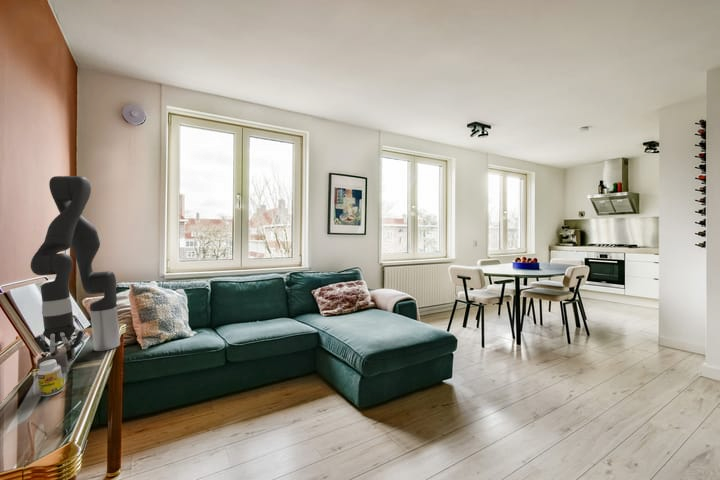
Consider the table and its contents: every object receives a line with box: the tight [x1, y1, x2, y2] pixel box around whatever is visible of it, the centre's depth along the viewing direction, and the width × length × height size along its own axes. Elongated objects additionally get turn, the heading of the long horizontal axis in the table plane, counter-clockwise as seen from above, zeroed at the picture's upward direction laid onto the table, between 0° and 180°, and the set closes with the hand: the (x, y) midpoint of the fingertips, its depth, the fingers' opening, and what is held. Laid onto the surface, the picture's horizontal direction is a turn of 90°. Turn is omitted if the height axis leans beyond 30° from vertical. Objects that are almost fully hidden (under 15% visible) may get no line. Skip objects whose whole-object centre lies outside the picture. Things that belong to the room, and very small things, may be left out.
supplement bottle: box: [36, 359, 65, 397], centre depth 107 cm, size 6×6×10 cm
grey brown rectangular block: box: [37, 345, 76, 375], centre depth 115 cm, size 13×7×6 cm, turn 23°
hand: (63, 361), depth 116 cm, fingers closed on grey brown rectangular block, 3 cm apart
